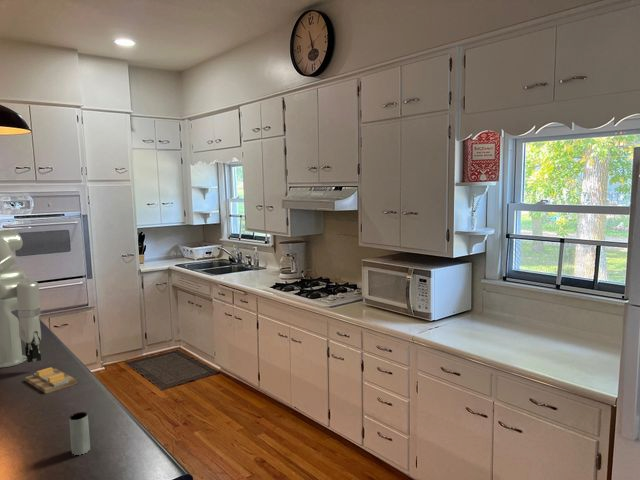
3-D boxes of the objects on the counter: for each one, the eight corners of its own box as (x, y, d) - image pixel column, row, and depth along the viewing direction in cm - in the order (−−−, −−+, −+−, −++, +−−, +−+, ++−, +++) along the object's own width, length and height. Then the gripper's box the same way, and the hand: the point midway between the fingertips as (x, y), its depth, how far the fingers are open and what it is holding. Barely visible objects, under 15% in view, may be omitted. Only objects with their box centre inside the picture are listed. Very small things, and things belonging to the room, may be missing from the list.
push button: (22, 364, 184) (20, 340, 183) (22, 360, 188) (21, 336, 187) (42, 361, 187) (40, 337, 186) (41, 357, 192) (40, 333, 191)
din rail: (33, 374, 182) (33, 372, 182) (47, 370, 186) (47, 368, 186) (54, 386, 170) (54, 384, 170) (68, 382, 174) (68, 380, 174)
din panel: (25, 381, 180) (25, 377, 179) (56, 372, 188) (55, 368, 188) (45, 393, 168) (45, 389, 167) (77, 383, 176) (76, 379, 176)
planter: (76, 447, 131) (73, 412, 130) (92, 446, 132) (90, 411, 131) (69, 456, 127) (65, 420, 126) (86, 455, 127) (83, 419, 126)
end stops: (37, 374, 179) (36, 371, 179) (51, 370, 183) (50, 367, 183) (50, 382, 172) (49, 378, 172) (64, 378, 176) (64, 374, 176)
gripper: (11, 310, 187) (14, 354, 190) (26, 318, 177) (30, 365, 180) (31, 306, 193) (34, 349, 196) (48, 314, 183) (51, 359, 185)
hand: (32, 356), depth 188 cm, fingers closed on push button, 3 cm apart
